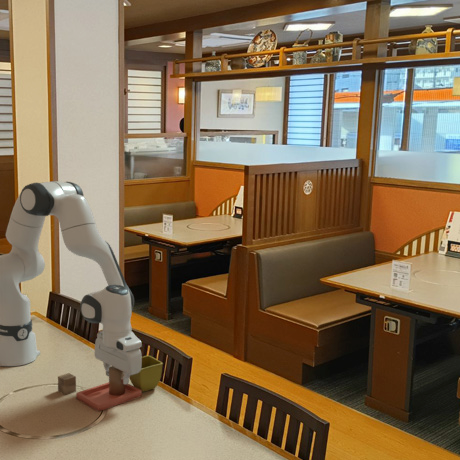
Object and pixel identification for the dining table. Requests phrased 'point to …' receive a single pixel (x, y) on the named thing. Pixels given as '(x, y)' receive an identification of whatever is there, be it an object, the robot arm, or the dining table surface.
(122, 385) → the brown cylinder
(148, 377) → the flower pot
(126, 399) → the tray
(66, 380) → the block
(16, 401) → the dining table surface
